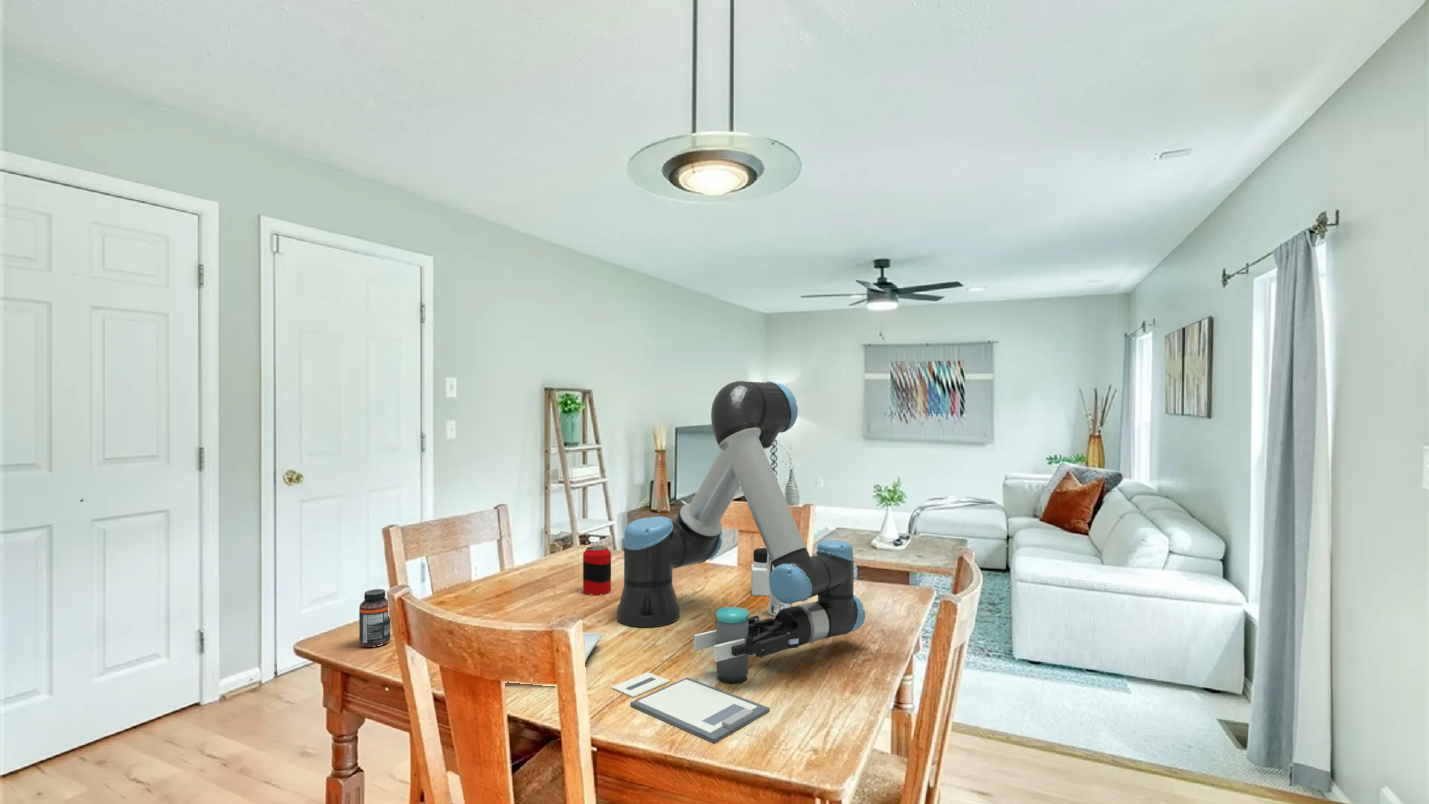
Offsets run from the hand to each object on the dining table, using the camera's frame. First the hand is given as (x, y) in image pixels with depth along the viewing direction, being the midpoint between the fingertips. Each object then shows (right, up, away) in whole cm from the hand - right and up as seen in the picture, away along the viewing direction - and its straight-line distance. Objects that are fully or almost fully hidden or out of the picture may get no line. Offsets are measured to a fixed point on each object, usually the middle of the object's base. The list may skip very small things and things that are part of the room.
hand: (704, 648), depth 121 cm
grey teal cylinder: (+5, -7, +3) cm, 9 cm away
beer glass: (+18, -7, +43) cm, 47 cm away
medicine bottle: (+15, -8, +61) cm, 63 cm away
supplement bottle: (-71, -7, +21) cm, 75 cm away
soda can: (-31, -7, +61) cm, 69 cm away
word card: (-12, -7, 0) cm, 14 cm away
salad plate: (-33, -8, +10) cm, 35 cm away
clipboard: (-1, -7, -9) cm, 12 cm away
